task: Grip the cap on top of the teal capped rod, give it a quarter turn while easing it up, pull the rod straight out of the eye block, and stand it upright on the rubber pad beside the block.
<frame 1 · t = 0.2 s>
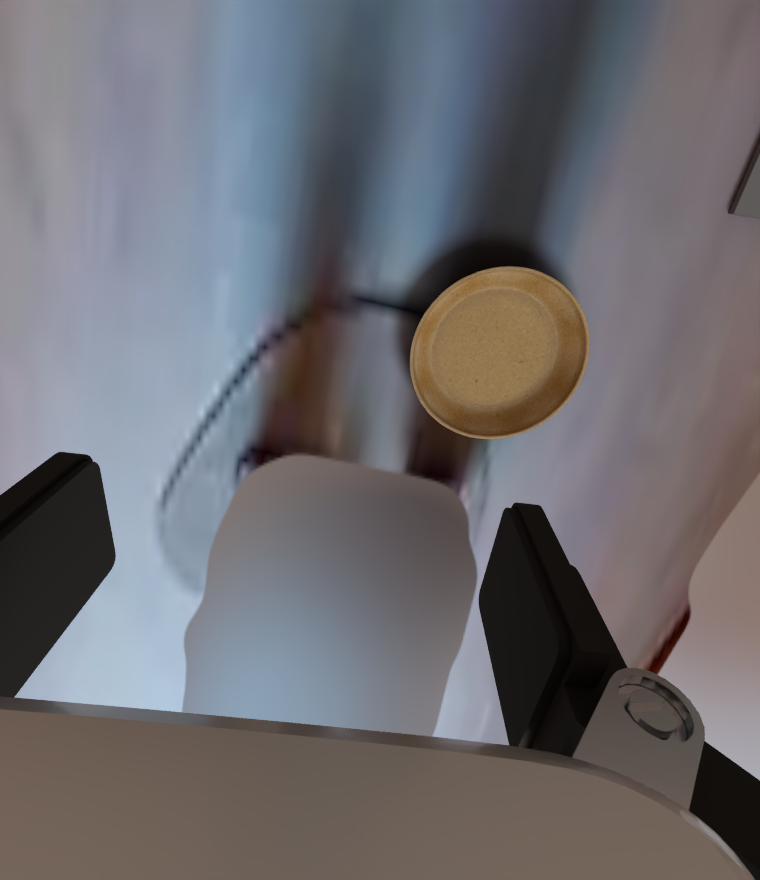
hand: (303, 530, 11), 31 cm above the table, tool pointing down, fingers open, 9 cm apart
plant saucer: (492, 350, 41), on the table
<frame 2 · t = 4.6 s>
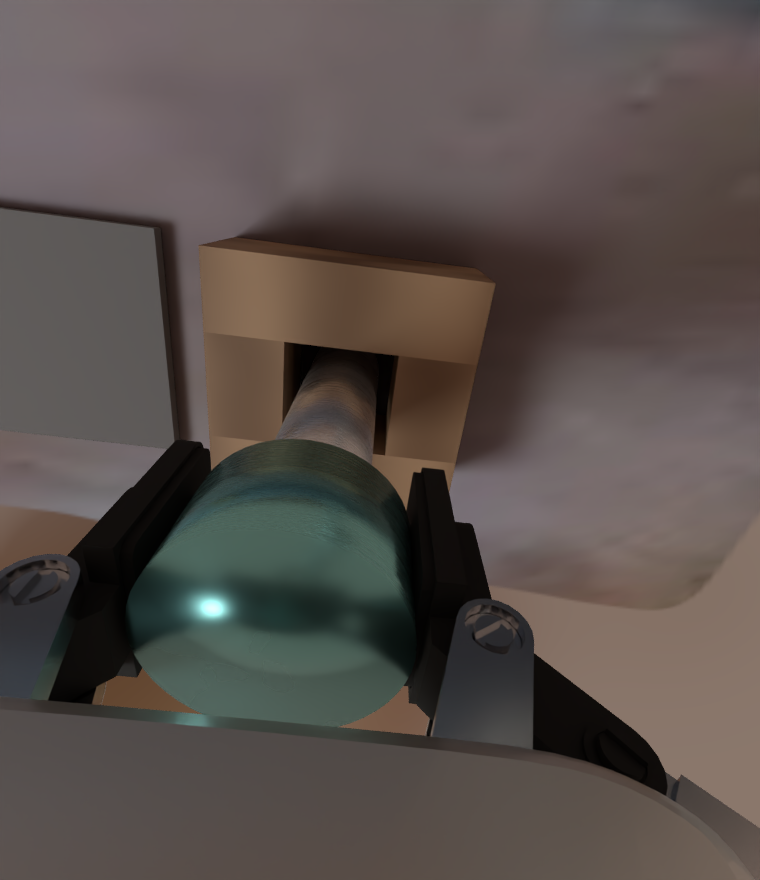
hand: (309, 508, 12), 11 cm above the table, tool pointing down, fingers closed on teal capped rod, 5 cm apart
teal capped rod: (326, 444, 15), in the eye block, touching gripper
rubber pad: (59, 334, 21), on the table
eye block: (346, 368, 21), on the table
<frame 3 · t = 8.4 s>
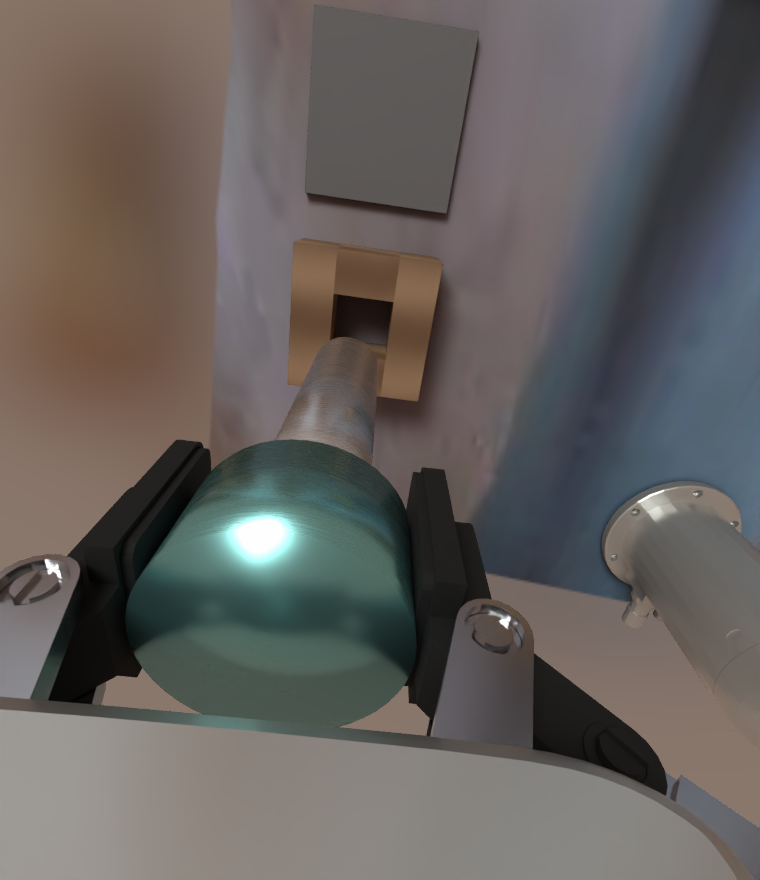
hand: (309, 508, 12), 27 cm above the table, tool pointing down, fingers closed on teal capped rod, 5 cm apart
teal capped rod: (326, 444, 15), point 24 cm above the table, touching gripper
rubber pad: (385, 118, 31), on the table
eye block: (363, 315, 37), on the table
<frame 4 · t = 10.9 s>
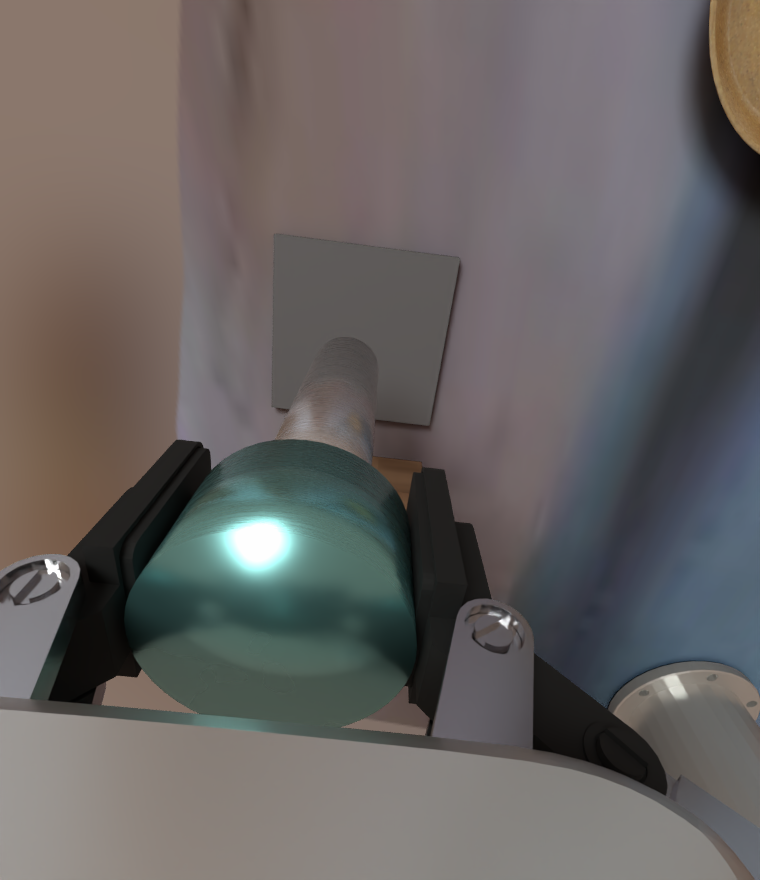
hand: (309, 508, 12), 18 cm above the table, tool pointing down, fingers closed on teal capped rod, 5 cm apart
teal capped rod: (325, 444, 15), point 14 cm above the table, touching gripper
rubber pad: (359, 336, 27), on the table
eye block: (341, 513, 33), on the table
when the fingers open (13 cm above the table, at t = 12.7 s): teal capped rod drops 1 cm, resting on rubber pad.
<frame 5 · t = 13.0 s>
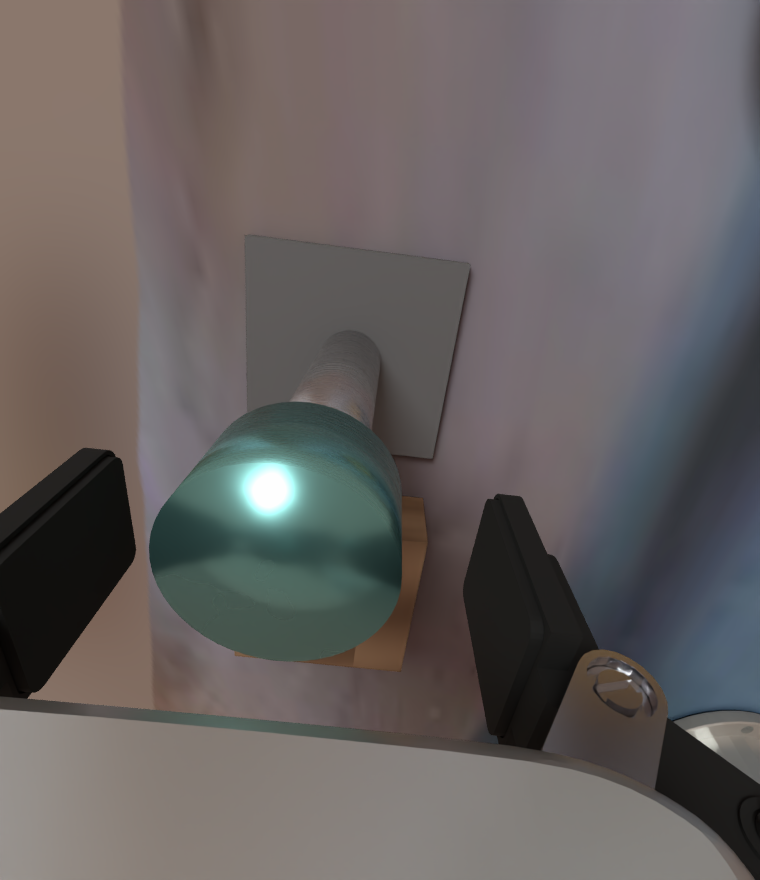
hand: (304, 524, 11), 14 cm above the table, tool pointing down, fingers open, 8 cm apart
teal capped rod: (328, 422, 16), on the rubber pad, point 8 cm above the table
rubber pad: (349, 355, 23), on the table
eye block: (331, 554, 29), on the table
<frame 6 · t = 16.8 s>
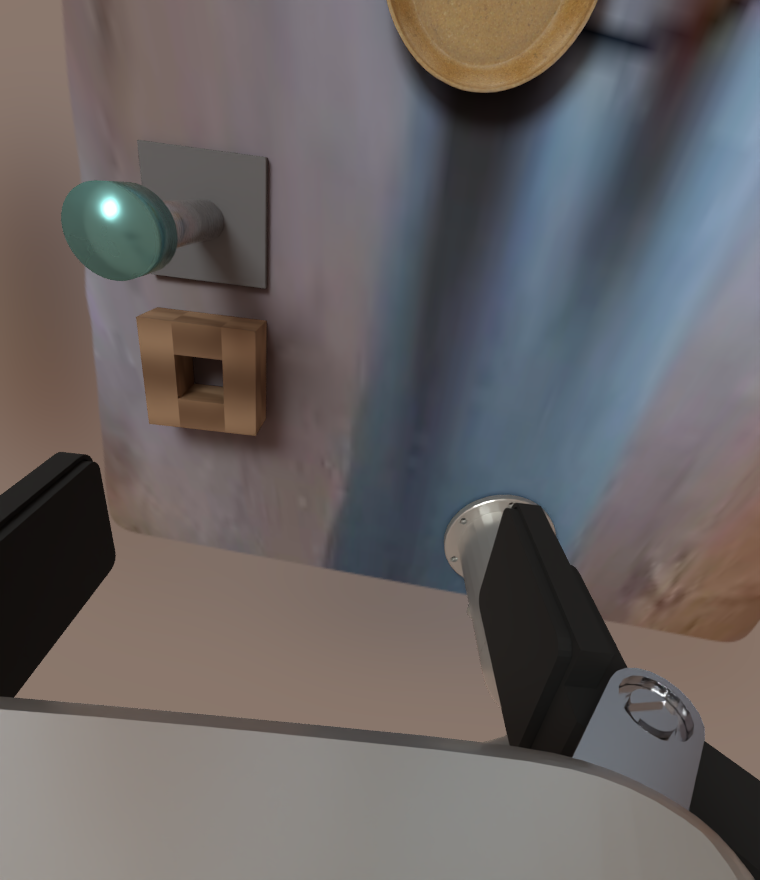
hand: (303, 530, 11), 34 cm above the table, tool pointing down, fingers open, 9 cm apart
teal capped rod: (167, 225, 32), on the rubber pad, point 8 cm above the table
rubber pad: (207, 218, 39), on the table
eye block: (214, 365, 45), on the table
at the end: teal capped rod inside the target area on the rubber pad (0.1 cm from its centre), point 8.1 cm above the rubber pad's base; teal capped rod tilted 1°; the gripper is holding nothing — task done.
